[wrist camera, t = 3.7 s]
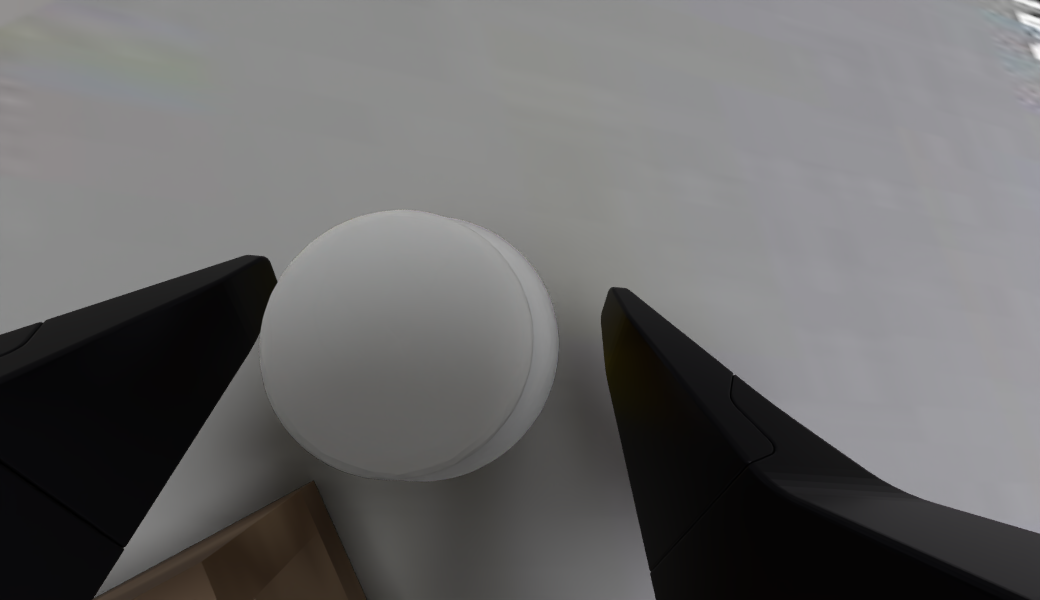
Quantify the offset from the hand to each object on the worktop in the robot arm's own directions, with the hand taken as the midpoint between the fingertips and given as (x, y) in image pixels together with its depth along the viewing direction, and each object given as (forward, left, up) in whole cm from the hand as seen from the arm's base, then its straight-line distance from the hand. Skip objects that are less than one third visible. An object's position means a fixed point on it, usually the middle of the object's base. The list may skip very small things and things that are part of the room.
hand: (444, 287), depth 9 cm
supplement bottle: (-1, +1, -7) cm, 7 cm away
